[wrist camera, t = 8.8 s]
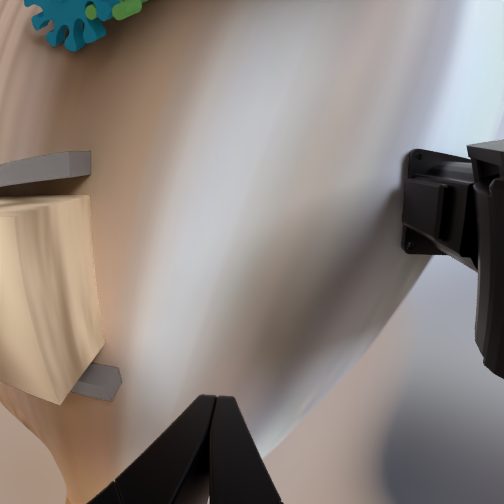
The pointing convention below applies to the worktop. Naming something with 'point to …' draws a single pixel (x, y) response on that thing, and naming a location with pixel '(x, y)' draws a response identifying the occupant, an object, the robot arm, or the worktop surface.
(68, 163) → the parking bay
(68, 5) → the gear
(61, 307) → the oak block
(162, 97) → the worktop surface
